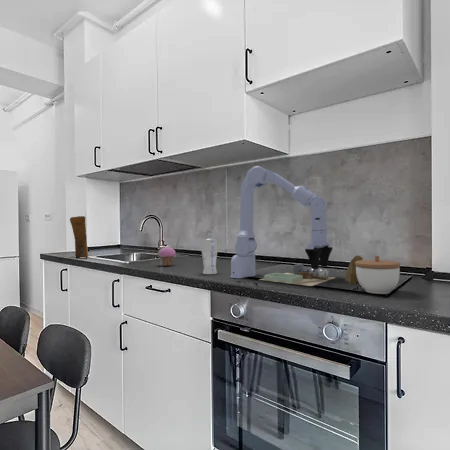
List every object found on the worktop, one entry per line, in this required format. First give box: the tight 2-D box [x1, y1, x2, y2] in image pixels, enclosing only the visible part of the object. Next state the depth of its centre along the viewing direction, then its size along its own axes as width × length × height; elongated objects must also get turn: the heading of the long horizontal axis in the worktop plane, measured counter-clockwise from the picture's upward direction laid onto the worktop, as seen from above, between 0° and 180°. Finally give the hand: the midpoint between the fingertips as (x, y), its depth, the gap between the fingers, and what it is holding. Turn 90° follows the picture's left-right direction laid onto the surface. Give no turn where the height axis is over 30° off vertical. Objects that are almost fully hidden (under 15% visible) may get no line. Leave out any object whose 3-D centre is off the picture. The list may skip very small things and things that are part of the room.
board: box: [258, 272, 337, 287], centre depth 124 cm, size 21×20×1 cm
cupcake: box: [158, 246, 177, 267], centre depth 175 cm, size 9×9×10 cm
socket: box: [298, 272, 312, 279], centre depth 126 cm, size 5×7×2 cm
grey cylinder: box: [306, 267, 329, 279], centre depth 123 cm, size 7×4×4 cm, turn 49°
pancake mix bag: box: [69, 215, 89, 258], centre depth 226 cm, size 7×19×28 cm, turn 46°
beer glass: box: [200, 238, 218, 275], centre depth 147 cm, size 7×7×15 cm
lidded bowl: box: [355, 255, 401, 295], centre depth 104 cm, size 13×13×11 cm
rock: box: [345, 254, 364, 285], centre depth 117 cm, size 11×9×10 cm
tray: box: [263, 272, 303, 284], centre depth 122 cm, size 12×8×2 cm, turn 49°
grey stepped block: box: [293, 263, 307, 275], centre depth 127 cm, size 5×4×4 cm
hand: (319, 267), depth 123 cm, fingers open, 7 cm apart
